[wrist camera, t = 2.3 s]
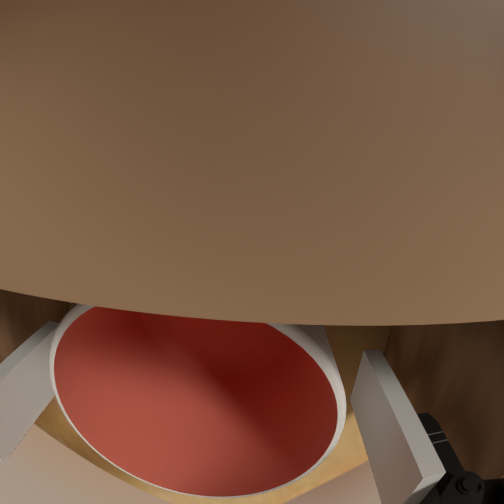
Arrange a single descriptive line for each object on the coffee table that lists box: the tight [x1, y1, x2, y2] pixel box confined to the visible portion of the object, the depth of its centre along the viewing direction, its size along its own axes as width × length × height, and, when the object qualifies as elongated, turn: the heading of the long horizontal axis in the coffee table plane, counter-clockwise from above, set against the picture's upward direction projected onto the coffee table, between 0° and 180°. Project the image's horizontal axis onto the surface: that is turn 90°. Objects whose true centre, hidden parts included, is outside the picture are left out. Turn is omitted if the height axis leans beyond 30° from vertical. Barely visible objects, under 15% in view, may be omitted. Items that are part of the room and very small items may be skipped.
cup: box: [49, 303, 346, 498], centre depth 13 cm, size 10×10×10 cm
